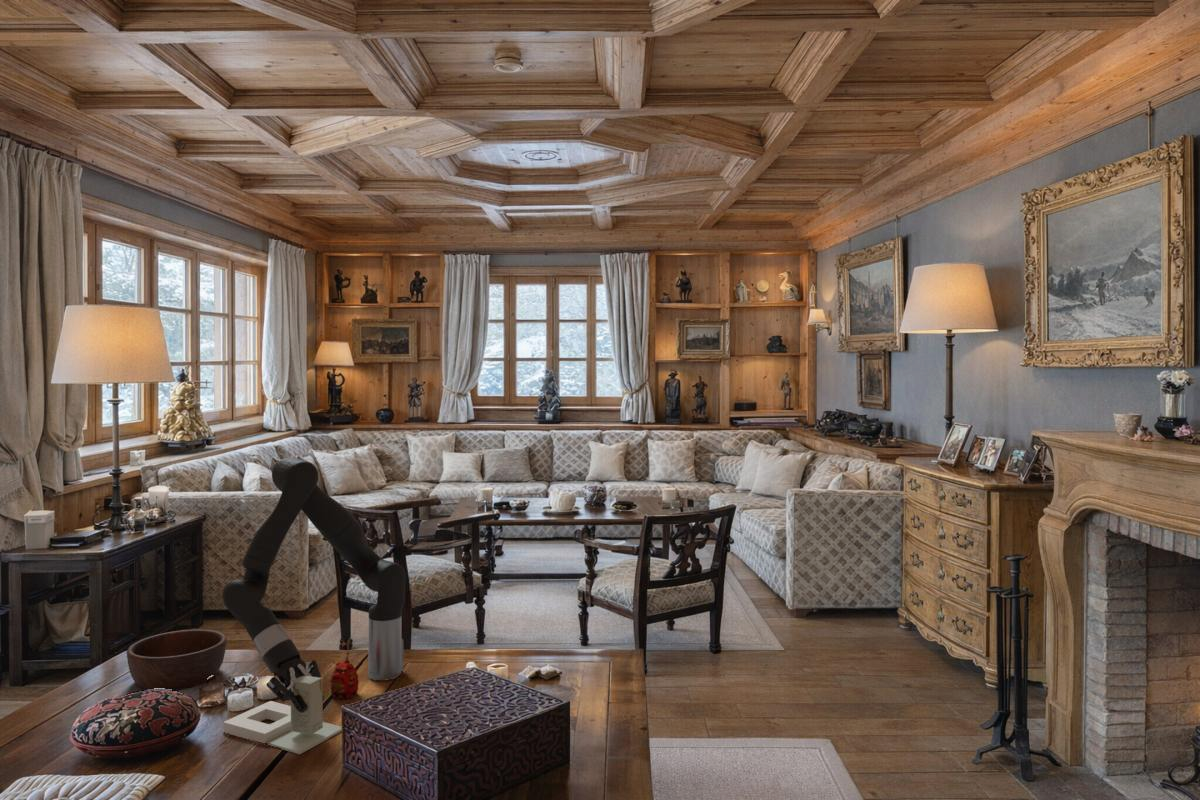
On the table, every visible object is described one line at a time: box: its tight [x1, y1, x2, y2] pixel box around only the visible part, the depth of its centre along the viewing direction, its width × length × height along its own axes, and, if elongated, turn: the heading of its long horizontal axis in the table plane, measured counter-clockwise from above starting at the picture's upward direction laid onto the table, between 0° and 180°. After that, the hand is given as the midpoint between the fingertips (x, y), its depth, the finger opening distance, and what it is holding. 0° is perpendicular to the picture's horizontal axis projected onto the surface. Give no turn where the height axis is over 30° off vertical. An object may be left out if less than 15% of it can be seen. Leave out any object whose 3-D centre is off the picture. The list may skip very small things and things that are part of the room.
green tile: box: [267, 721, 342, 755], centre depth 184 cm, size 14×10×1 cm
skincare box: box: [290, 676, 324, 735], centre depth 184 cm, size 6×4×12 cm
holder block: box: [222, 700, 291, 743], centre depth 189 cm, size 14×14×2 cm
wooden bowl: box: [126, 628, 228, 691], centre depth 219 cm, size 25×25×10 cm
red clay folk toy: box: [329, 637, 360, 700], centre depth 209 cm, size 8×7×15 cm
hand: (312, 706), depth 183 cm, fingers closed on skincare box, 4 cm apart
